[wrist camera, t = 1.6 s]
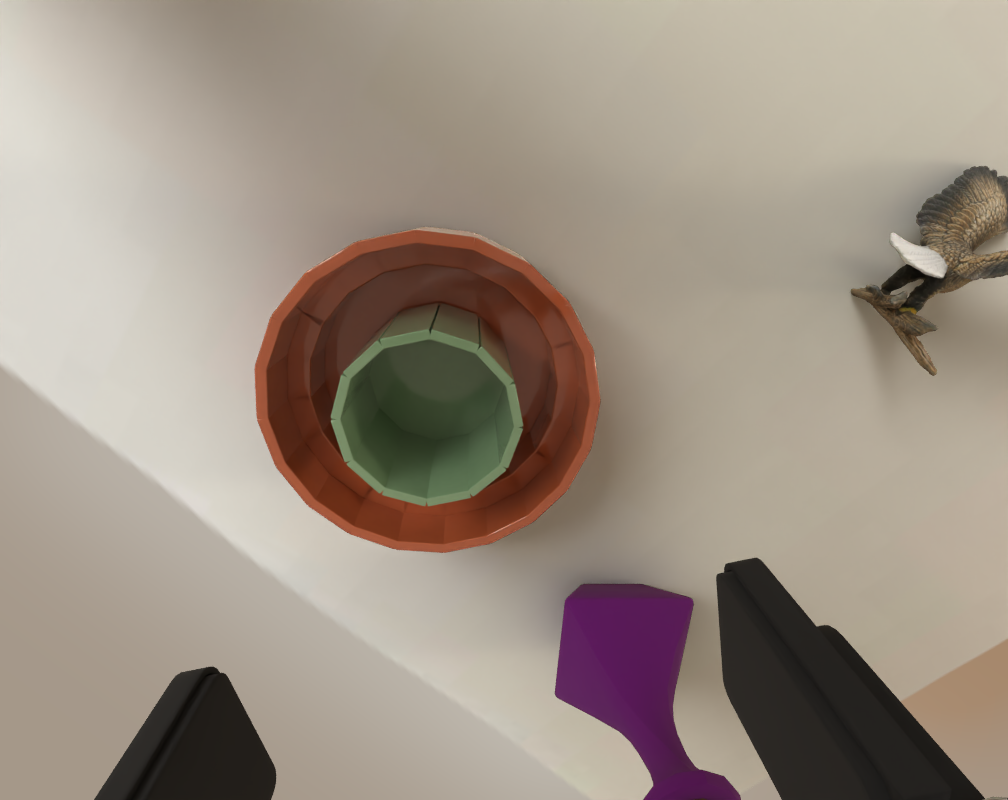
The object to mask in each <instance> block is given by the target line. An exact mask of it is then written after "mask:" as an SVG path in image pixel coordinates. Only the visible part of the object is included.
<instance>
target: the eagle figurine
mask: <svg viewBox="0 0 1008 800" xmlns="http://www.w3.org/2000/svg"><path fill="white" fill-rule="evenodd" d="M916 217H917V218H918V219H917V220H916V223H917V224H918V225H919V226H920V227H921V228H920V233H921V234H922V235H923V236H924V237H923V238H922V239H921V241H920V243H921V246H918V245H915V244H912V243H910V242H908V241H906V240H904V239H903V238H901V237H900V236H899V235H897V234H896V233H891V234H890V241H889V243H890V245H891V246H892V247H894V248H895V249H896V250H897V251H898V253H899V254H900V256H901V258H902V259H903V261H904V262H905V263H906V265H905V266H903V267H902V268H900V269H899V270H898V271H897V272H896V273H895V274H894V275H893V276H891V277H890V278H889V279H888V280H887V281H886V282H884V283H883V284H882V285H881V287H882V289H881V290H880V289H879V288H878V287H877V286H875V285H867V286H866V288H860V289H851V294H852V295H854V296H856V297H859V298H862V299H864V300H866V301H867V302H868V303H870V304H871V305H872V306H873V307H874V308H875V309H876V310H877V312H878V313H879V314H880V315H881V316H882V317H884V318H885V319H886V320H887V321H888V322H889V324H890V325H891V326H892V327H893V329H894V330H895V332H896V334H897V335H898V336H899V338H900V339H901V341H902V342H903V343H904V344H905V346H906V347H907V348H908V349H909V351H910V352H911V354H912V355H913V356H914V357H915V359H916V360H917V362H918V363H919V364H920V365H921V366H922V367H923V368H924V369H925V370H927V371H928V372H929V373H930V374H931V375H932V376H934V375H936V373H937V369H936V368H935V366H934V365H933V363H932V361H931V358H930V356H929V355H928V353H927V351H926V350H925V349H924V346H923V345H922V343H921V342H920V341H919V340H918V339H917V337H916V336H921V335H923V334H925V333H927V332H930V331H936V330H937V329H938V327H937V326H935V325H934V324H932V323H931V322H929V321H927V320H926V319H924V318H923V317H921V316H918V315H916V313H917V312H918V311H919V310H921V309H922V307H923V306H924V304H925V303H926V302H927V300H928V299H930V298H931V297H933V296H934V295H935V294H937V293H947V292H951V291H954V290H956V289H958V288H960V287H962V286H964V285H965V284H967V283H969V282H970V281H973V280H977V279H979V278H983V279H986V278H995V277H1001V276H1005V275H1008V251H1000V252H996V253H992V254H985V255H975V254H974V253H972V252H973V251H974V250H975V249H976V248H977V247H978V246H979V245H980V244H982V243H983V242H985V241H987V240H989V239H990V238H992V237H993V236H995V235H999V234H1003V233H1005V232H1007V231H1008V177H1006V176H999V177H997V171H996V170H991V171H990V170H989V168H988V167H987V166H979V167H971V168H970V170H965V171H964V175H961V176H960V177H959V178H956V180H955V181H954V184H951V185H949V186H948V188H946V189H944V190H943V191H942V194H936V195H934V196H933V197H932V198H929V199H927V201H926V203H924V204H923V206H922V209H921V211H920V212H918V214H917V216H916ZM918 279H922V280H924V282H923V283H922V284H921V285H920V286H917V287H915V289H914V290H913V291H912V292H911V293H910V296H909V297H908V298H907V292H906V291H904V292H902V293H900V294H898V295H890V293H891V292H892V291H894V290H897V289H899V288H901V287H903V286H905V285H906V284H908V283H910V282H913V281H916V280H918Z"/></svg>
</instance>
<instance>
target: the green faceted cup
mask: <svg viewBox="0 0 1008 800" xmlns="http://www.w3.org/2000/svg"><path fill="white" fill-rule="evenodd" d="M331 418H332V420H331V424H332V427H333V429H334V432H335V435H336V438H337V441H338V444H339V447H340V450H341V453H342V456H343V459H344V462H347V466H348V467H350V468H351V469H352V470H353V471H354V472H355V473H356V474H358V475H359V476H360V477H361V478H362V479H363V480H364V481H365V482H367V483H368V484H369V485H370V486H371V487H372V488H373V489H375V490H376V491H377V492H378V493H379V494H380V493H381V492H382V491H383V493H382V495H383V496H387V497H391V498H395V499H398V500H402V501H406V502H410V503H414V504H417V505H421V506H426V503H427V506H433V505H438V504H443V503H448V502H453V501H458V500H463V499H468V498H471V495H472V496H473V497H474V496H475V495H476V494H477V493H479V492H480V491H481V490H482V489H484V488H485V487H486V486H487V485H489V484H490V483H491V482H492V481H494V480H495V479H496V478H497V477H499V476H500V475H501V474H502V473H504V472H505V471H506V468H508V467H509V465H510V462H511V459H512V457H513V454H514V452H515V449H516V446H517V444H518V441H519V439H520V436H521V434H522V431H523V427H522V426H523V421H522V416H521V410H520V405H519V400H518V395H517V390H516V385H515V381H514V377H513V373H512V369H511V365H510V360H509V356H508V352H507V348H506V346H505V344H504V342H503V341H502V340H501V339H500V338H499V337H498V335H497V334H496V333H495V332H494V331H493V330H492V329H491V328H490V327H489V325H488V324H487V323H486V322H485V321H484V320H483V319H482V318H481V317H480V316H479V317H478V315H477V314H475V313H472V312H468V311H465V310H462V309H459V308H456V307H453V306H450V305H447V304H444V303H441V305H440V304H439V303H433V304H429V305H424V306H419V307H414V308H409V309H404V310H401V312H398V313H397V314H396V315H395V316H393V317H392V318H391V319H390V320H389V321H388V322H387V323H386V324H385V325H384V326H383V327H382V328H380V329H379V330H378V331H377V332H376V333H375V334H374V335H373V336H372V337H371V338H370V340H369V341H368V342H367V343H366V344H365V346H364V347H363V348H362V349H361V351H360V352H359V353H358V354H357V355H356V357H355V358H354V359H353V360H352V362H351V363H350V364H349V365H348V366H347V368H346V369H345V370H344V371H343V374H342V375H341V377H340V381H339V385H338V389H337V393H336V397H335V401H334V405H333V409H332V413H331Z"/></svg>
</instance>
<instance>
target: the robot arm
mask: <svg viewBox="0 0 1008 800" xmlns="http://www.w3.org/2000/svg"><path fill="white" fill-rule="evenodd" d="M716 581H717V596H718V611H719V626H720V641H721V656H722V671H723V682H724V686H725V689H726V692H727V695H728V697H729V699H730V702H731V704H732V705H733V707H734V709H735V711H736V713H737V715H738V717H739V719H740V721H741V723H742V725H743V726H744V728H745V730H746V732H747V734H748V736H749V738H750V740H751V742H752V744H753V745H754V747H755V749H756V751H757V753H758V755H759V757H760V759H761V761H762V763H763V764H764V766H765V768H766V770H767V772H768V774H769V776H770V778H771V780H772V781H773V783H774V785H775V787H776V789H777V791H778V793H779V795H780V797H781V799H782V800H1008V798H1002V797H991V798H987V799H985V798H984V797H983V796H982V795H981V793H980V792H979V791H978V790H977V789H976V788H975V787H974V785H973V784H972V783H971V782H970V781H969V780H968V779H967V778H966V776H965V775H964V774H963V773H962V772H961V771H960V769H959V768H958V767H957V766H956V765H955V764H954V763H953V761H952V760H951V759H950V758H949V757H948V756H947V755H946V754H945V752H944V751H943V750H942V749H941V748H940V747H939V745H938V744H937V743H936V742H935V741H934V740H933V739H932V738H931V736H930V735H929V734H928V733H927V732H926V731H925V729H924V728H923V727H922V726H921V725H920V724H919V723H918V721H916V719H915V718H914V717H913V716H912V715H911V713H910V712H909V711H908V710H907V709H906V708H905V707H904V706H903V704H902V703H901V702H900V701H899V700H898V699H897V697H896V696H895V695H894V694H893V693H892V692H891V691H890V689H889V688H888V687H887V686H886V685H885V684H884V683H883V681H882V680H881V679H880V678H879V677H878V676H877V675H876V673H875V672H874V671H873V670H872V669H871V668H870V667H869V665H868V664H867V663H866V662H865V661H864V660H863V659H862V657H861V656H860V655H859V654H858V653H857V652H856V651H855V649H854V648H853V647H852V646H851V645H850V644H849V643H848V641H847V640H846V639H845V638H844V637H843V636H842V635H841V634H840V633H839V632H838V631H837V630H836V629H834V628H832V627H831V626H829V625H823V626H818V627H816V625H815V624H814V623H813V622H812V621H811V619H810V618H809V617H808V616H807V615H806V613H805V612H804V611H803V610H802V609H801V607H800V606H799V605H798V604H797V603H796V601H795V600H794V599H793V598H792V597H791V595H790V594H789V593H788V592H787V591H786V589H785V588H784V587H783V586H782V585H781V583H780V582H779V581H778V580H777V579H776V577H775V576H774V575H773V574H772V573H771V571H770V570H769V569H768V568H767V566H766V565H765V564H764V563H763V562H762V561H761V560H760V559H758V558H752V559H747V560H742V561H737V562H732V563H727V564H725V567H724V573H720V574H717V576H716ZM275 784H276V770H275V767H274V764H273V762H272V761H271V759H270V757H269V755H268V753H267V751H266V749H265V747H264V745H263V743H262V741H261V740H260V738H259V736H258V734H257V732H256V730H255V728H254V726H253V724H252V722H251V720H250V718H249V717H248V715H247V713H246V711H245V709H244V707H243V705H242V703H241V701H240V699H239V698H238V696H237V694H236V692H235V690H234V688H233V686H232V684H231V682H230V680H229V678H228V677H227V675H226V674H224V673H220V672H219V671H218V669H217V668H215V667H206V668H201V669H196V670H191V671H186V672H181V673H180V674H178V675H177V676H175V678H174V679H173V680H172V681H171V683H170V684H169V686H168V687H167V689H166V690H165V692H164V694H163V695H162V697H161V698H160V700H159V701H158V703H157V704H156V706H155V707H154V709H153V710H152V712H151V714H150V715H149V716H148V718H147V720H146V721H145V723H144V724H143V726H142V727H141V729H140V730H139V732H138V733H137V735H136V736H135V738H134V739H133V741H132V743H131V744H130V746H129V747H128V749H127V750H126V752H125V753H124V755H123V757H122V758H121V759H120V761H119V763H118V764H117V766H116V767H115V769H114V770H113V772H112V773H111V775H110V776H109V778H108V779H107V781H106V783H105V784H104V785H103V787H102V789H101V790H100V791H99V793H98V795H97V796H96V798H95V799H94V800H271V798H272V795H273V792H274V789H275Z"/></svg>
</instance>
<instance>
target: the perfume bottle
mask: <svg viewBox="0 0 1008 800" xmlns="http://www.w3.org/2000/svg"><path fill="white" fill-rule="evenodd" d="M693 606H694V603H693V599H691V598H689V597H686V596H682V595H679V594H675V593H672V592H668V591H664V590H661V589H657V588H653V587H650V586H646V585H643V584H583V585H580V586H579V587H578V588H577V589H576V590H575V591H574V592H573V593H572V594H571V595H570V596H569V597H567V598H566V600H565V606H564V615H563V624H562V632H561V641H560V650H559V659H558V668H557V677H556V686H555V695H556V697H557V698H559V699H561V700H562V701H564V702H566V703H568V704H570V705H572V706H574V707H576V708H578V709H580V710H582V711H583V712H585V713H587V714H589V715H591V716H593V717H595V718H597V719H598V720H600V721H602V722H604V723H605V724H607V725H609V726H611V727H612V728H614V729H616V730H618V731H619V732H621V733H622V734H623V735H624V736H625V737H626V738H627V739H628V740H629V741H630V742H631V743H632V745H633V746H634V748H635V749H636V750H637V752H638V753H639V755H640V757H641V758H642V760H643V762H644V763H645V765H646V767H647V769H648V770H649V772H650V774H651V777H652V781H653V787H652V789H651V790H650V791H649V793H648V794H647V795H646V797H645V798H644V800H741V798H740V795H739V793H738V792H737V791H736V789H735V788H734V787H733V786H732V785H731V784H730V783H729V781H728V780H727V779H726V778H725V777H724V776H721V775H718V774H715V773H711V772H708V771H704V770H699V769H698V768H696V767H695V766H694V764H693V763H692V762H691V760H690V759H689V757H688V756H687V755H686V752H685V750H684V748H683V746H682V743H681V741H680V739H679V737H678V735H677V731H676V727H675V723H674V718H673V701H674V694H675V688H676V684H677V679H678V675H679V670H680V665H681V661H682V656H683V652H684V647H685V643H686V638H687V633H688V629H689V624H690V620H691V615H692V610H693Z"/></svg>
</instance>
